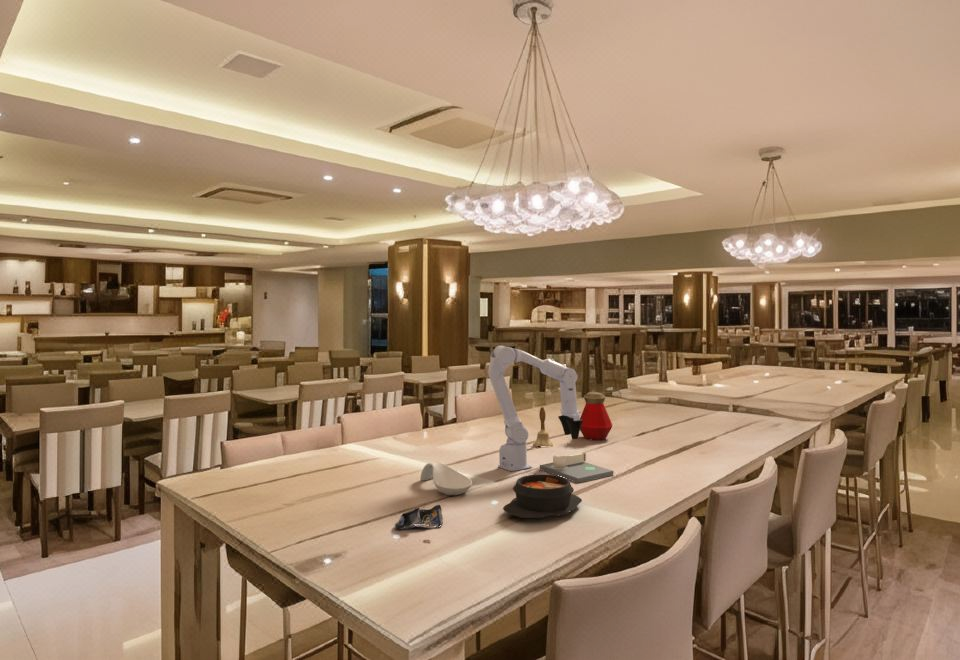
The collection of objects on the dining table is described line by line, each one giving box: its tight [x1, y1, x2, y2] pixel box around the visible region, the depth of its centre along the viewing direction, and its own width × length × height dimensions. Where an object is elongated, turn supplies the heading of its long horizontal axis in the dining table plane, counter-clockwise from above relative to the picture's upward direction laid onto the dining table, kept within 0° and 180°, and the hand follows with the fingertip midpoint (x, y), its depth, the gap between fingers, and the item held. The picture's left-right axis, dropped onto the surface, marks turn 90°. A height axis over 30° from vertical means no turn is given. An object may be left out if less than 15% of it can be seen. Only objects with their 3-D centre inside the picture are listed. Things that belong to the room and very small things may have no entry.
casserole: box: [502, 473, 583, 520], centre depth 162 cm, size 25×19×8 cm
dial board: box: [539, 461, 614, 484], centre depth 201 cm, size 16×20×2 cm
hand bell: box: [532, 406, 554, 447], centre depth 243 cm, size 8×8×16 cm
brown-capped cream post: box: [552, 452, 587, 467], centre depth 204 cm, size 14×4×3 cm, turn 123°
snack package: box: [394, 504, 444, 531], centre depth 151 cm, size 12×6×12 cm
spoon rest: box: [420, 461, 473, 497], centre depth 184 cm, size 24×12×7 cm, turn 34°
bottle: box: [579, 391, 613, 441], centre depth 255 cm, size 16×14×20 cm
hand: (571, 436), depth 212 cm, fingers open, 7 cm apart
